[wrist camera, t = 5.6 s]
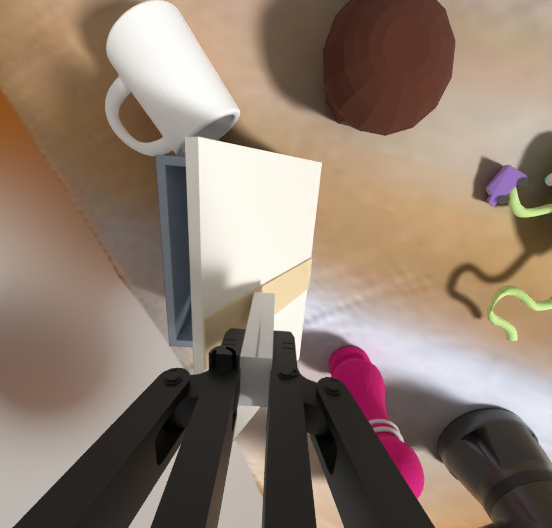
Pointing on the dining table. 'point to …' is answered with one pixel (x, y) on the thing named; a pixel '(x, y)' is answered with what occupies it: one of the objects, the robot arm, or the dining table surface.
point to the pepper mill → (376, 409)
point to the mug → (165, 79)
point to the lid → (247, 241)
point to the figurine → (505, 191)
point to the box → (175, 247)
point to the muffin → (387, 63)
